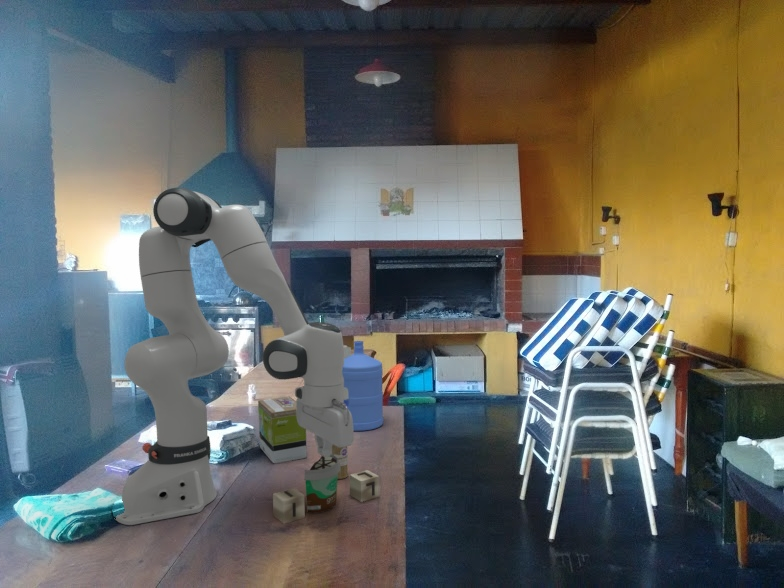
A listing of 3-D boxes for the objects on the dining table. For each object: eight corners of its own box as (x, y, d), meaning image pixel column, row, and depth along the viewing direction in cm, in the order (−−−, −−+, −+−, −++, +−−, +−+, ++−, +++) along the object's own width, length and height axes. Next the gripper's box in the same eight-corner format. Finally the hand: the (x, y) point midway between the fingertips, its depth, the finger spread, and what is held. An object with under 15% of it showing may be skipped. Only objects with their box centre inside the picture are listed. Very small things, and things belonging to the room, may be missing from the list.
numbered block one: (283, 524, 123) (283, 500, 122) (273, 515, 127) (272, 492, 126) (305, 518, 125) (304, 494, 125) (294, 509, 130) (293, 487, 129)
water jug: (385, 418, 201) (384, 338, 199) (380, 432, 185) (379, 345, 183) (341, 417, 202) (339, 338, 200) (332, 431, 187) (330, 345, 185)
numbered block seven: (361, 502, 133) (361, 480, 133) (349, 495, 137) (349, 473, 137) (379, 497, 136) (379, 475, 135) (367, 490, 140) (367, 469, 140)
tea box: (258, 448, 171) (257, 399, 170) (291, 443, 175) (290, 395, 174) (272, 464, 158) (271, 411, 157) (307, 458, 162) (306, 406, 161)
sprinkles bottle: (341, 481, 146) (340, 428, 145) (326, 477, 148) (325, 426, 147) (351, 474, 150) (350, 423, 149) (336, 471, 152) (336, 421, 151)
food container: (332, 518, 125) (331, 472, 124) (304, 515, 126) (303, 470, 126) (347, 494, 137) (347, 453, 136) (322, 493, 138) (322, 452, 138)
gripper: (361, 403, 123) (360, 466, 124) (315, 384, 140) (315, 440, 141) (335, 407, 120) (335, 472, 121) (291, 387, 136) (291, 445, 137)
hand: (324, 455), depth 131 cm, fingers closed
